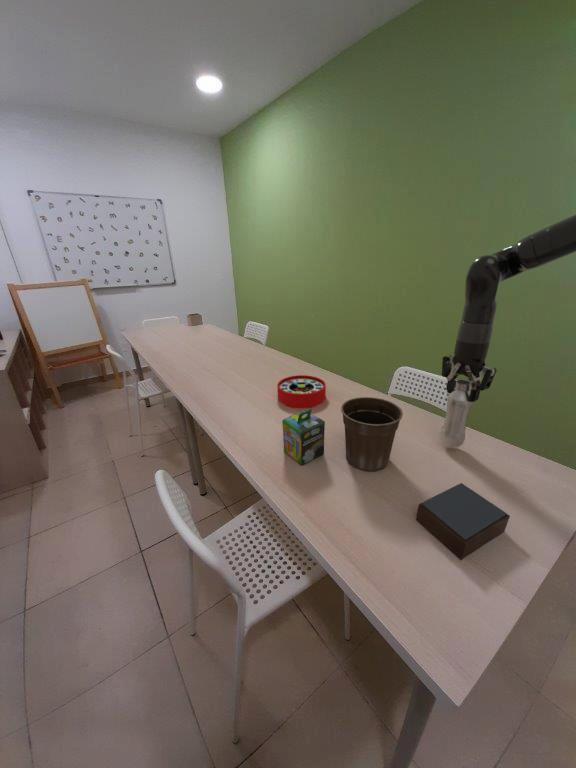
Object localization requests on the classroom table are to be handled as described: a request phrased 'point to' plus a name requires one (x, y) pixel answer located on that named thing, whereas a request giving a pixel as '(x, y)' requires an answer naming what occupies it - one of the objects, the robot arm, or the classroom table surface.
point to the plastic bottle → (456, 414)
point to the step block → (461, 519)
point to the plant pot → (370, 431)
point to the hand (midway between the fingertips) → (460, 396)
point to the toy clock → (301, 391)
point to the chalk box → (303, 436)
